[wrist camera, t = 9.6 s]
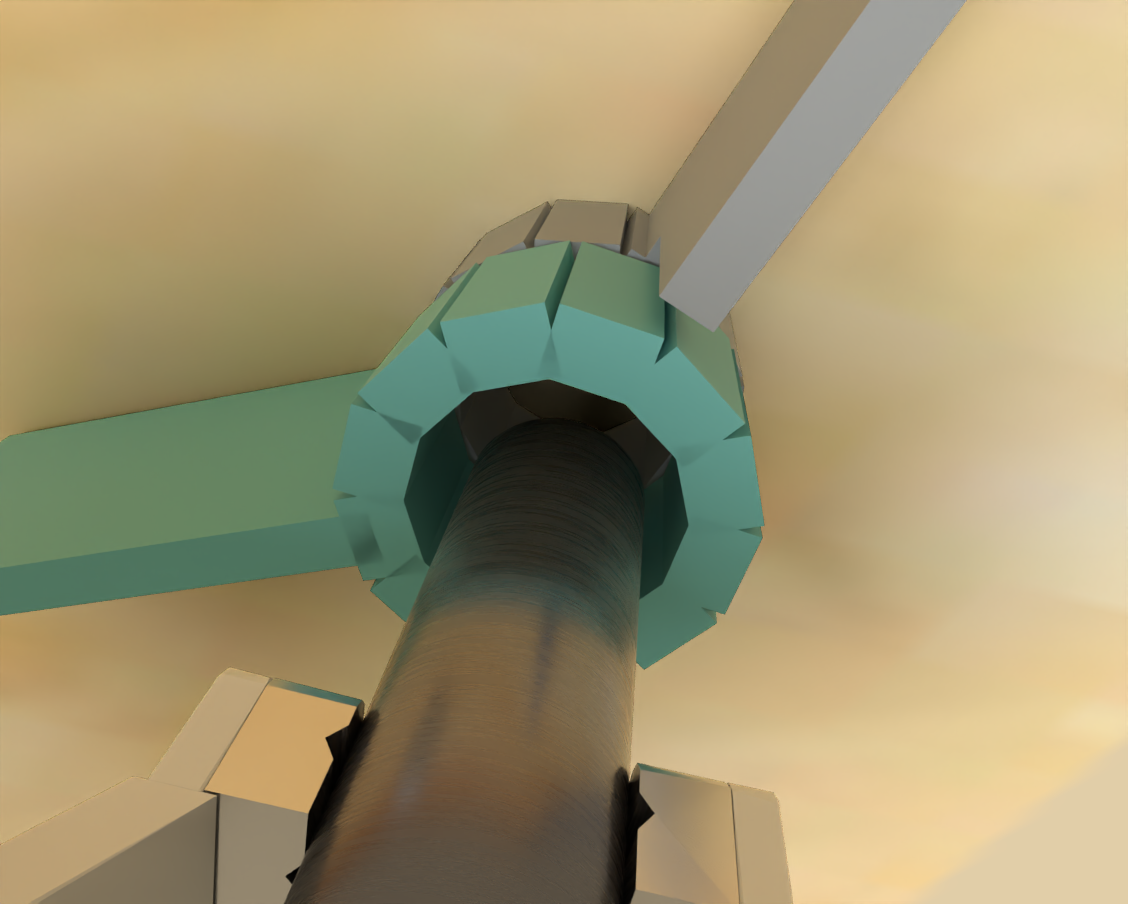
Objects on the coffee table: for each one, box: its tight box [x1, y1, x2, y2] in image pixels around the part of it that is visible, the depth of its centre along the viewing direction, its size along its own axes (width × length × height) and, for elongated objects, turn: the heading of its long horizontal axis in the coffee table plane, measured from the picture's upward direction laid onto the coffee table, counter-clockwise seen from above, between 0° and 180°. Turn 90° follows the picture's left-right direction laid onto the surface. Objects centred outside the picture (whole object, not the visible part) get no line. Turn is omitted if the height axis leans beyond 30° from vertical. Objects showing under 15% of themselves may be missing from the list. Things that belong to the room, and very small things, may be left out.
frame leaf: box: [434, 0, 966, 489], centre depth 16 cm, size 20×7×8 cm, turn 148°
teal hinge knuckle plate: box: [0, 240, 764, 669], centre depth 20 cm, size 20×7×8 cm, turn 103°
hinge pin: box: [284, 418, 645, 904], centre depth 10 cm, size 3×3×12 cm
